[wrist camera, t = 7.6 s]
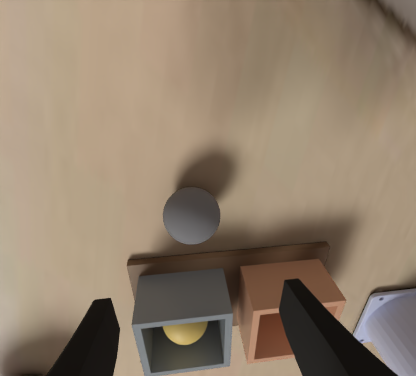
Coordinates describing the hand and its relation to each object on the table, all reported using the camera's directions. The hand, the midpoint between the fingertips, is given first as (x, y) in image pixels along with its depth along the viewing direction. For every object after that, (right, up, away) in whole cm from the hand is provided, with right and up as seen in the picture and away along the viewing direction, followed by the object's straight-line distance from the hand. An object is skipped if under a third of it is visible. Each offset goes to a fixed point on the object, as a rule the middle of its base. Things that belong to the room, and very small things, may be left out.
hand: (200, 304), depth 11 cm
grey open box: (-2, -5, +11) cm, 12 cm away
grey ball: (-1, +4, +7) cm, 8 cm away
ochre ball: (-2, -4, +11) cm, 12 cm away
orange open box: (+6, -4, +12) cm, 14 cm away
